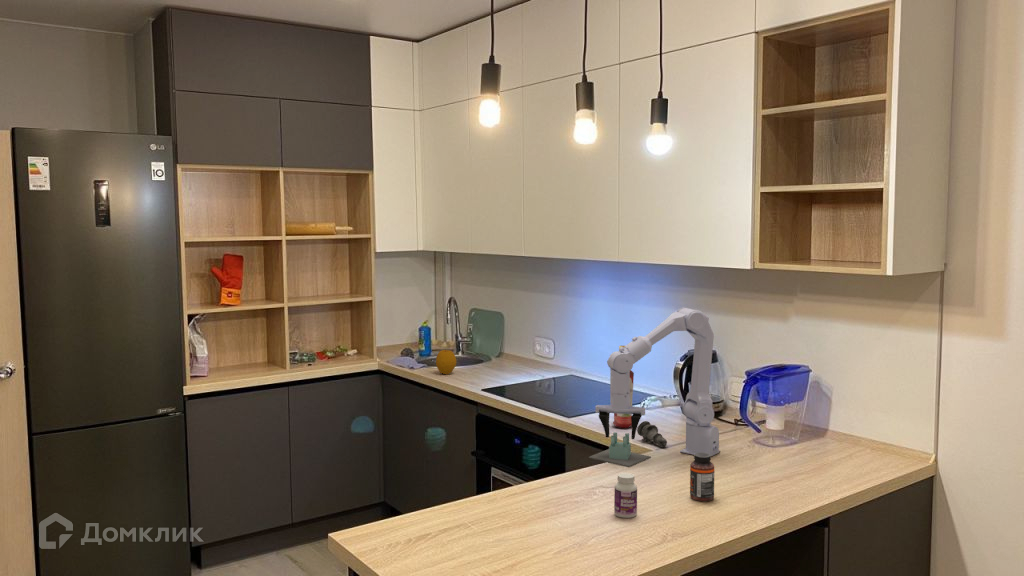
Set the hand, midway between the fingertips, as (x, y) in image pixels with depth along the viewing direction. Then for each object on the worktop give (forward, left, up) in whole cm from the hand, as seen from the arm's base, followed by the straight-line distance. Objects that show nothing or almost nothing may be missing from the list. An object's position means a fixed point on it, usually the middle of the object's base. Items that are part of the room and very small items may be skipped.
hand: (620, 437), depth 234 cm
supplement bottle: (-35, +16, -6) cm, 39 cm away
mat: (0, 0, -6) cm, 6 cm away
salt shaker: (+5, -22, -2) cm, 22 cm away
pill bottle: (-26, +38, -6) cm, 47 cm away
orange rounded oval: (+136, -61, -6) cm, 149 cm away
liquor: (+19, -31, -6) cm, 37 cm away
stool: (0, 0, -6) cm, 6 cm away
